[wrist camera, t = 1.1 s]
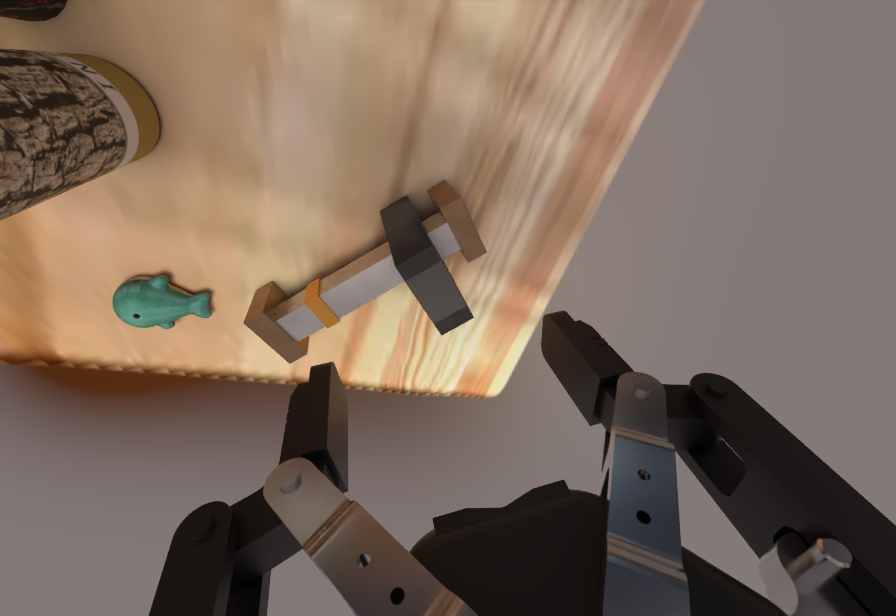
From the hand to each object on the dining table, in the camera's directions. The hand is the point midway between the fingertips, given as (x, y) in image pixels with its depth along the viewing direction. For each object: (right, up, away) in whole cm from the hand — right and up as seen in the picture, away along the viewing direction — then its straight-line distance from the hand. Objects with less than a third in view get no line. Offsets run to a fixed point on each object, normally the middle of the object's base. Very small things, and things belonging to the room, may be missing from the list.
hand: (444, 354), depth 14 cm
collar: (-4, +9, +24) cm, 26 cm away
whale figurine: (-27, +3, +21) cm, 34 cm away
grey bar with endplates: (-8, +7, +24) cm, 26 cm away
